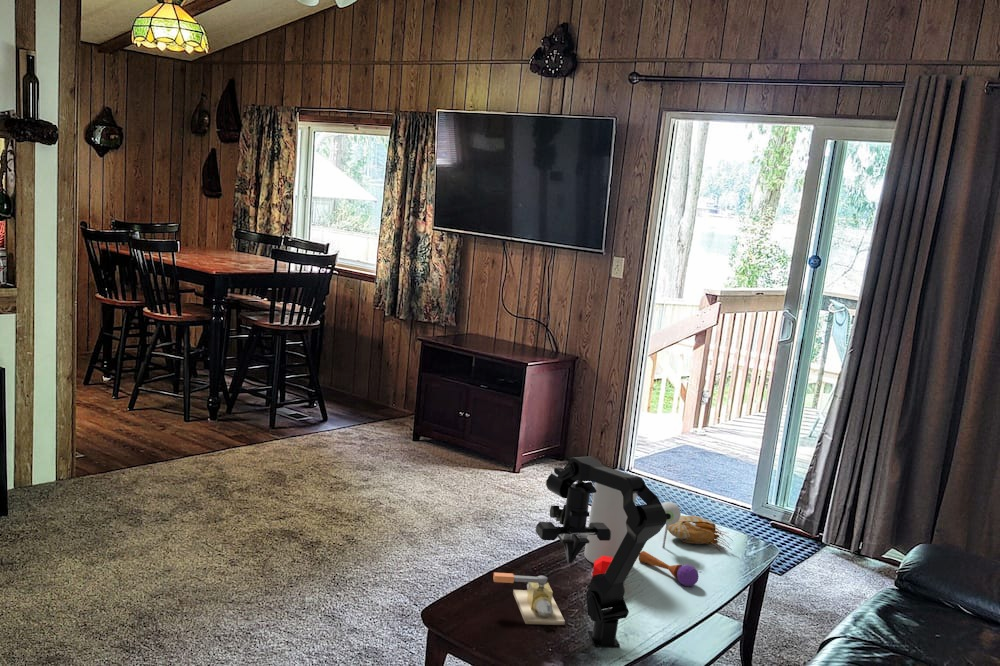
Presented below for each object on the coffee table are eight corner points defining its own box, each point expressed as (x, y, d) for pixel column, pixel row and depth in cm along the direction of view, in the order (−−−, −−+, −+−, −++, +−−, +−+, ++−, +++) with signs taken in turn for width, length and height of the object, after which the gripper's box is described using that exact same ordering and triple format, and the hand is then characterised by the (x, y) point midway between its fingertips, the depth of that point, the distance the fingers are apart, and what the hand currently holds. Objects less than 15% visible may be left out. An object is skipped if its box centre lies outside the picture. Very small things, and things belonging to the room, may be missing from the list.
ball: (620, 582, 244) (624, 556, 242) (619, 594, 236) (623, 568, 235) (592, 576, 245) (596, 551, 244) (590, 588, 237) (594, 562, 236)
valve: (554, 620, 215) (557, 596, 214) (534, 620, 214) (538, 595, 213) (541, 594, 228) (544, 571, 227) (523, 593, 227) (526, 570, 226)
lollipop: (650, 548, 270) (658, 503, 268) (653, 540, 277) (660, 496, 275) (673, 554, 269) (681, 508, 266) (675, 546, 275) (683, 501, 273)
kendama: (650, 546, 262) (704, 568, 247) (646, 566, 262) (700, 589, 247) (638, 546, 258) (692, 568, 243) (633, 566, 258) (687, 589, 243)
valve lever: (545, 580, 222) (546, 575, 221) (547, 585, 219) (548, 579, 219) (492, 577, 219) (493, 571, 219) (494, 582, 217) (495, 576, 217)
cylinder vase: (625, 571, 251) (638, 490, 247) (582, 563, 252) (594, 482, 249) (625, 555, 263) (638, 477, 259) (585, 547, 265) (596, 470, 261)
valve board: (564, 624, 214) (564, 621, 214) (525, 623, 212) (526, 620, 212) (549, 594, 230) (549, 591, 230) (513, 593, 228) (513, 589, 228)
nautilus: (738, 550, 280) (718, 564, 268) (679, 525, 292) (658, 537, 281) (743, 528, 278) (723, 541, 266) (683, 503, 290) (662, 515, 279)
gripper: (599, 494, 229) (591, 550, 231) (532, 493, 224) (525, 550, 226) (615, 509, 218) (607, 567, 221) (546, 508, 213) (538, 568, 215)
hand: (569, 562), depth 221 cm, fingers closed
